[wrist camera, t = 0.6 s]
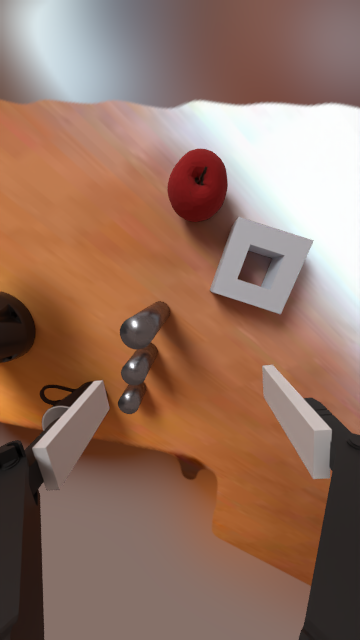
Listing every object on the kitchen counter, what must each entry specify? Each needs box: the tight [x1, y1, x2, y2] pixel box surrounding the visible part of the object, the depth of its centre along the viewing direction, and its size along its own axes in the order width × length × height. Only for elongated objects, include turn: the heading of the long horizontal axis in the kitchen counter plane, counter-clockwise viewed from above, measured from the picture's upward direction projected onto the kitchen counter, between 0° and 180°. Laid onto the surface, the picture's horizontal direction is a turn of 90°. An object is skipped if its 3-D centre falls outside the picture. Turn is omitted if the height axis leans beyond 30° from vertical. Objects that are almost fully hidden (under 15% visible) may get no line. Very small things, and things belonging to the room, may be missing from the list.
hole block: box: [210, 217, 313, 314], centre depth 34 cm, size 12×12×5 cm
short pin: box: [118, 382, 146, 414], centre depth 40 cm, size 4×4×6 cm
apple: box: [168, 149, 228, 222], centre depth 29 cm, size 9×9×10 cm
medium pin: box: [121, 343, 158, 386], centre depth 36 cm, size 4×4×10 cm
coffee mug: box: [40, 382, 107, 430], centre depth 39 cm, size 12×9×10 cm
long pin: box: [120, 301, 170, 349], centre depth 31 cm, size 4×4×16 cm
